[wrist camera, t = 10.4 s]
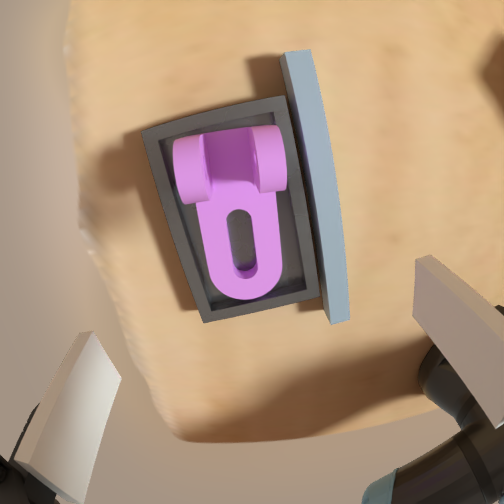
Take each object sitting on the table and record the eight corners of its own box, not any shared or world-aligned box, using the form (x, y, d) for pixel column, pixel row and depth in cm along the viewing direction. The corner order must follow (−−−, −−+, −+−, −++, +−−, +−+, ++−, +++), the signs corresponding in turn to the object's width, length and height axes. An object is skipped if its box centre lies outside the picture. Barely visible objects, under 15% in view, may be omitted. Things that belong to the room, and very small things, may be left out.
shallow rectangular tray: (314, 284, 27) (319, 296, 25) (204, 309, 27) (203, 323, 25) (279, 97, 20) (284, 95, 19) (148, 130, 21) (140, 131, 19)
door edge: (341, 305, 28) (349, 319, 26) (323, 309, 28) (330, 325, 26) (302, 56, 19) (310, 49, 17) (278, 59, 19) (284, 52, 17)
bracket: (187, 135, 20) (169, 141, 14) (265, 124, 20) (282, 125, 14) (216, 294, 26) (213, 349, 19) (281, 285, 26) (298, 338, 19)
